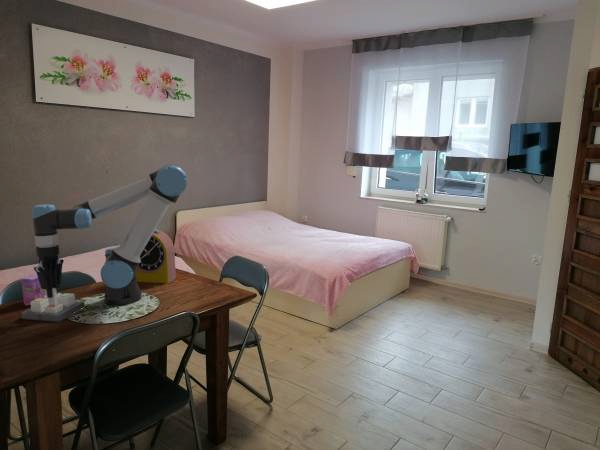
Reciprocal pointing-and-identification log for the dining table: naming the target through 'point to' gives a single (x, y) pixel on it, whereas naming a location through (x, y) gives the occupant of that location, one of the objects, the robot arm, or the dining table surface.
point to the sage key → (66, 299)
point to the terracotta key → (53, 308)
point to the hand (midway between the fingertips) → (53, 304)
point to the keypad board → (53, 316)
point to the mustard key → (39, 305)
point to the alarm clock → (157, 260)
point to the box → (32, 289)
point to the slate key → (57, 296)
